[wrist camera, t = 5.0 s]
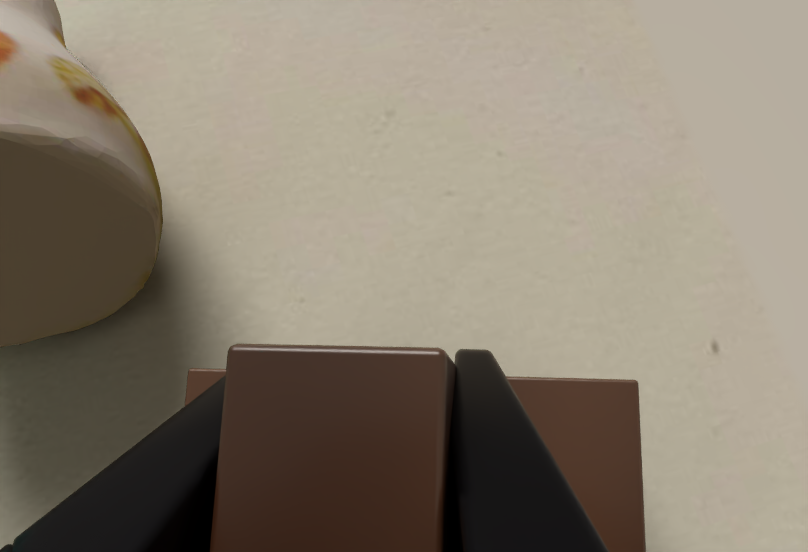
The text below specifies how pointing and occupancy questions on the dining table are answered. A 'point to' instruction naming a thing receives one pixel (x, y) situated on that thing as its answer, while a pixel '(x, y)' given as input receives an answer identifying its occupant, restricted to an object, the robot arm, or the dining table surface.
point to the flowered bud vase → (66, 186)
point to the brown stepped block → (392, 449)
